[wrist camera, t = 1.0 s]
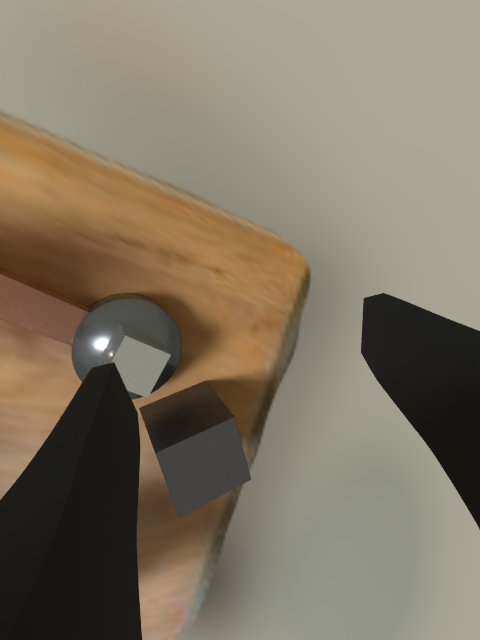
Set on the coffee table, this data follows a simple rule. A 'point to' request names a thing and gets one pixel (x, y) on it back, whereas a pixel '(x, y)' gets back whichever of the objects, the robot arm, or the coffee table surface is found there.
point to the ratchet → (99, 331)
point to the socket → (196, 446)
